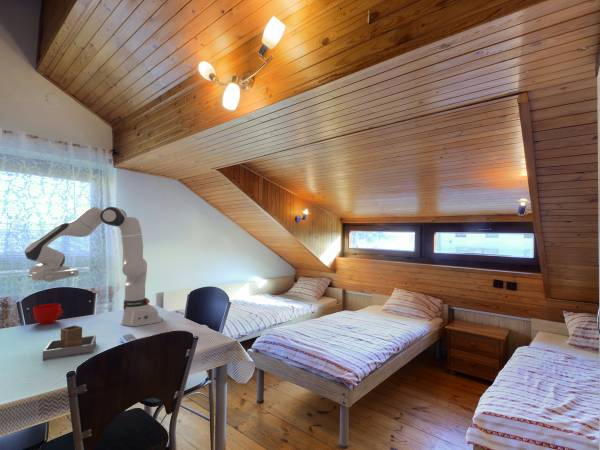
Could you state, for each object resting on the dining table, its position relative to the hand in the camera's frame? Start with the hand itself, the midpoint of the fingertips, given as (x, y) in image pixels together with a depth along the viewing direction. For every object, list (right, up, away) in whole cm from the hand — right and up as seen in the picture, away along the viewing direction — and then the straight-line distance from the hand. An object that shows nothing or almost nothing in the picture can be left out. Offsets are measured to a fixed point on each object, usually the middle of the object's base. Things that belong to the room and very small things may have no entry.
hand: (63, 275), depth 167 cm
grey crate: (+18, -32, -19) cm, 41 cm away
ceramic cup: (-26, -32, +23) cm, 47 cm away
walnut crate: (+18, -31, -19) cm, 41 cm away
